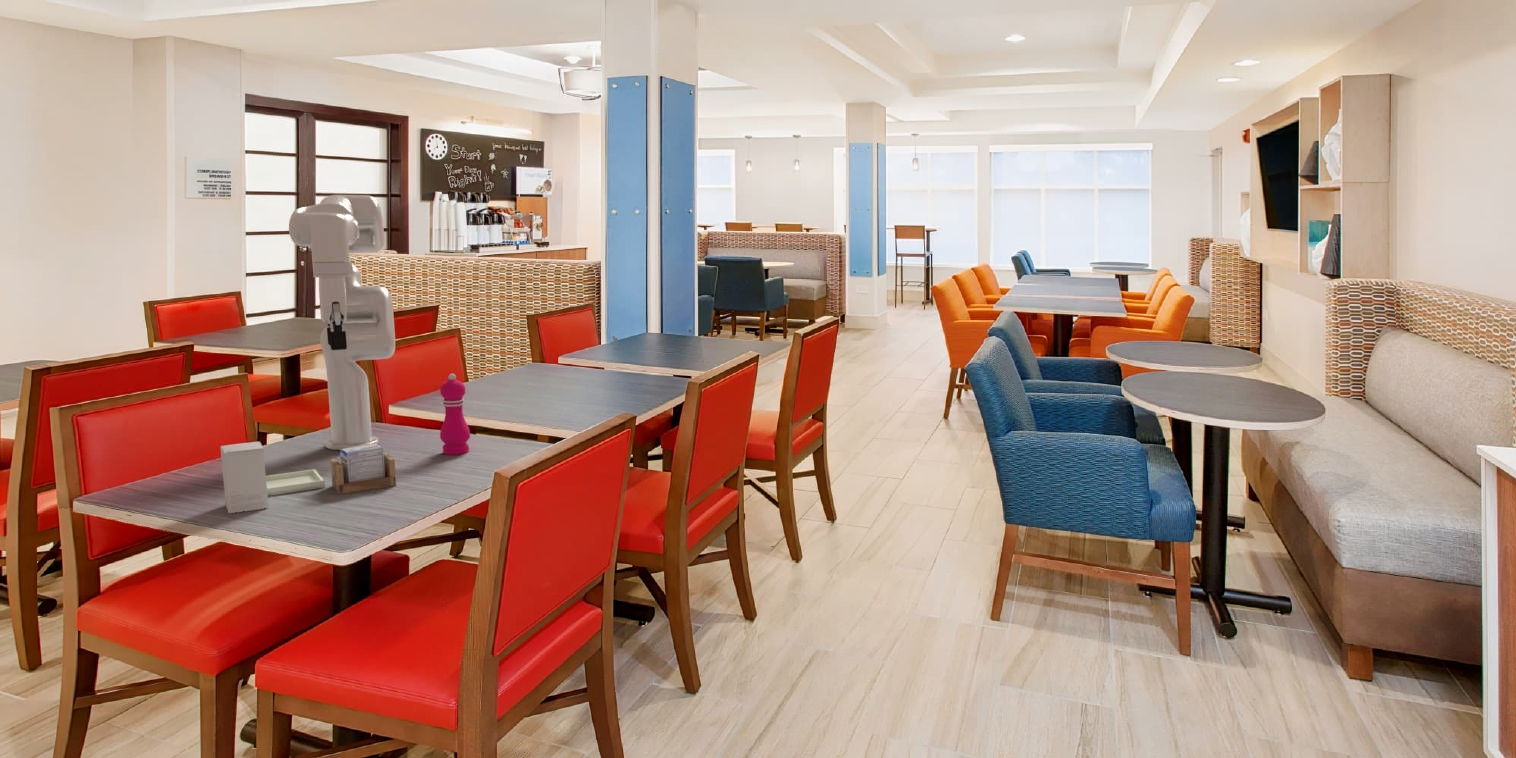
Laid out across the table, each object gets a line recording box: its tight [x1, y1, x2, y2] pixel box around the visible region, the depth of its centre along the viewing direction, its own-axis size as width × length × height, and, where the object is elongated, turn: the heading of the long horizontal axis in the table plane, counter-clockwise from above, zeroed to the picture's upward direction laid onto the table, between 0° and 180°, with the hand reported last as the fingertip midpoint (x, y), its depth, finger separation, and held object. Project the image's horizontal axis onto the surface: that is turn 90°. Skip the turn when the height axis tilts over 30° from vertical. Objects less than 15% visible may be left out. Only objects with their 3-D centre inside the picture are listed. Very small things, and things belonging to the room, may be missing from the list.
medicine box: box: [339, 444, 385, 483], centre depth 206 cm, size 8×4×9 cm, turn 133°
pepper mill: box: [439, 373, 471, 456], centre depth 235 cm, size 7×7×20 cm
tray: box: [266, 468, 326, 497], centre depth 206 cm, size 11×11×2 cm
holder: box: [329, 451, 397, 495], centre depth 206 cm, size 8×12×6 cm, turn 125°
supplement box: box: [220, 441, 269, 514], centre depth 190 cm, size 7×7×13 cm
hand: (337, 347), depth 210 cm, fingers open, 9 cm apart
